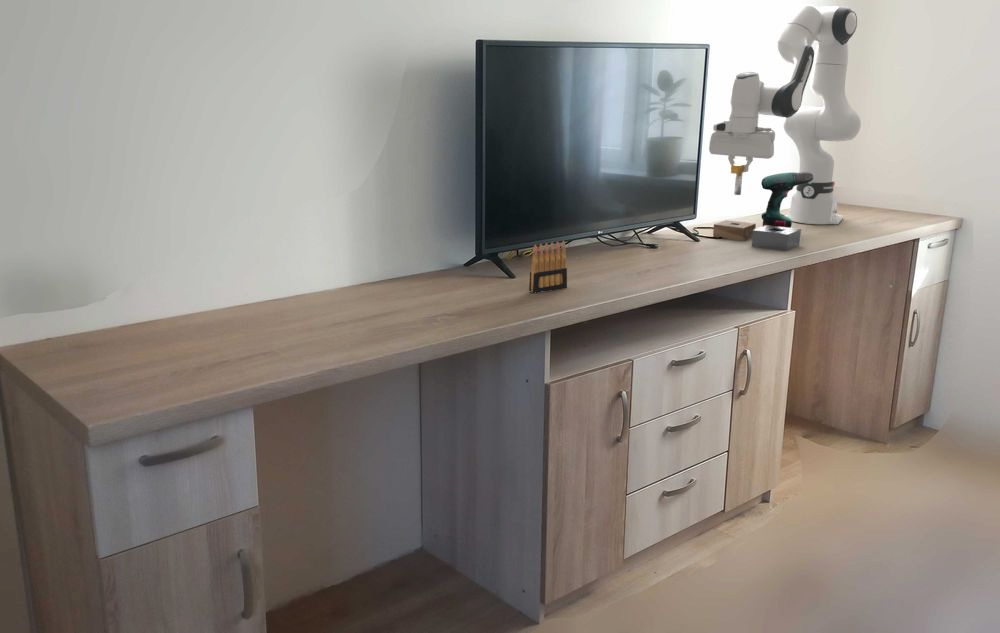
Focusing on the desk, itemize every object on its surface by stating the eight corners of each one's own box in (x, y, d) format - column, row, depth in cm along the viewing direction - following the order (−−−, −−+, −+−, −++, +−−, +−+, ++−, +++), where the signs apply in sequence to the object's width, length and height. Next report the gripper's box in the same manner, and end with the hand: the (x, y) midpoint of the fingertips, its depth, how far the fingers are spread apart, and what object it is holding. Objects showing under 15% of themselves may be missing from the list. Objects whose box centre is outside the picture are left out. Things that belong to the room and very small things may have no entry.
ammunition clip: (533, 293, 232) (534, 245, 229) (528, 292, 233) (529, 244, 230) (567, 287, 238) (568, 240, 235) (562, 286, 239) (563, 239, 236)
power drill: (810, 235, 309) (817, 173, 304) (759, 234, 309) (765, 172, 304) (804, 231, 316) (810, 170, 311) (754, 230, 316) (760, 169, 311)
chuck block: (764, 240, 300) (766, 225, 298) (799, 245, 293) (801, 229, 292) (751, 246, 291) (752, 230, 290) (786, 251, 285) (788, 234, 283)
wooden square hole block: (725, 232, 313) (726, 220, 311) (754, 235, 307) (755, 223, 306) (712, 236, 305) (713, 224, 304) (742, 240, 299) (743, 228, 298)
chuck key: (739, 192, 306) (741, 162, 303) (745, 193, 305) (748, 163, 302) (729, 195, 300) (731, 165, 297) (735, 196, 298) (738, 165, 296)
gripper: (779, 127, 293) (775, 172, 297) (716, 123, 304) (713, 167, 308) (771, 128, 288) (767, 174, 292) (708, 124, 300) (705, 169, 303)
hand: (739, 170), depth 300 cm, fingers closed on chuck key, 2 cm apart
